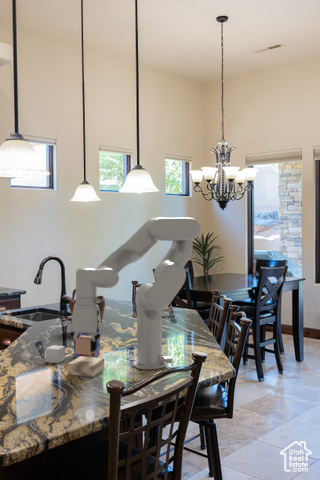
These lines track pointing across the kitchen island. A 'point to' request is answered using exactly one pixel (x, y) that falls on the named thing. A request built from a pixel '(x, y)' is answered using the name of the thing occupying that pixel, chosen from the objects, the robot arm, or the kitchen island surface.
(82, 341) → the terracotta cube
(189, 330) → the kitchen island surface
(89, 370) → the maple base block
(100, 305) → the brown tapered pot
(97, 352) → the ink cartridge box
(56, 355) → the pale grey cube
